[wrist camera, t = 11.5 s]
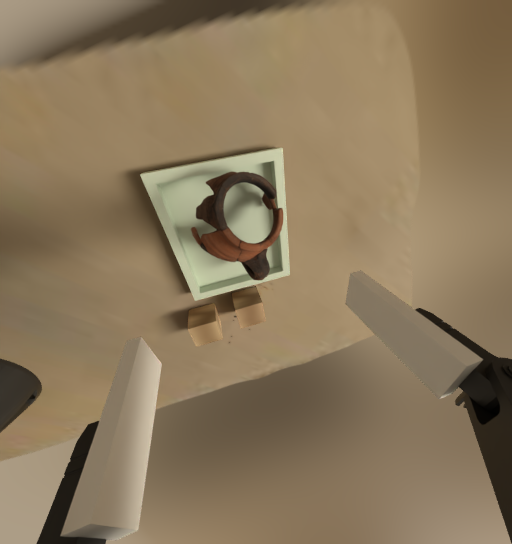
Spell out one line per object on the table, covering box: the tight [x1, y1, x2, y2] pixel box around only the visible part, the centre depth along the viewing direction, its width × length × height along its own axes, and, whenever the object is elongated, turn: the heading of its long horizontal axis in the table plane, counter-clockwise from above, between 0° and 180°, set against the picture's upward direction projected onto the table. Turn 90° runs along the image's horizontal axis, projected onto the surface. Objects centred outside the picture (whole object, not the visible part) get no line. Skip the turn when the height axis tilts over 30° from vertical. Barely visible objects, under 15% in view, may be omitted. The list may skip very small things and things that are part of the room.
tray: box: [140, 148, 290, 301], centre depth 24 cm, size 14×16×2 cm
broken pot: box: [191, 172, 283, 281], centre depth 22 cm, size 12×9×8 cm
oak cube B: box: [231, 286, 266, 329], centre depth 30 cm, size 4×4×4 cm
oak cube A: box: [188, 303, 223, 347], centre depth 30 cm, size 4×4×4 cm
